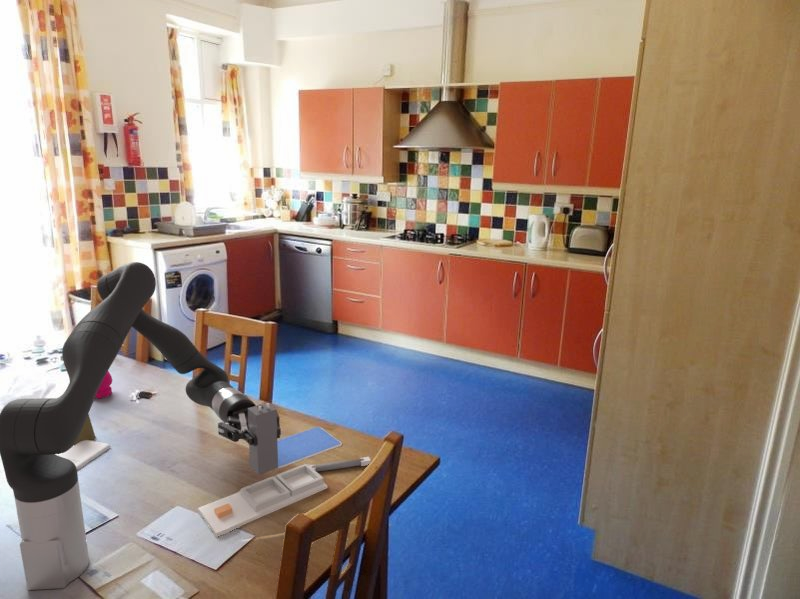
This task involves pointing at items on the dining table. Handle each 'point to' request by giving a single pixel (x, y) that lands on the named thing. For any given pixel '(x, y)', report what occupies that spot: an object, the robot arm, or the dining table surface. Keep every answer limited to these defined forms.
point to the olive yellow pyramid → (86, 432)
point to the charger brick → (263, 438)
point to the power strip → (261, 499)
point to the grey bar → (341, 464)
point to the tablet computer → (304, 445)
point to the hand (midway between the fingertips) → (267, 438)
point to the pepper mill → (105, 386)
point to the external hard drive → (84, 452)
